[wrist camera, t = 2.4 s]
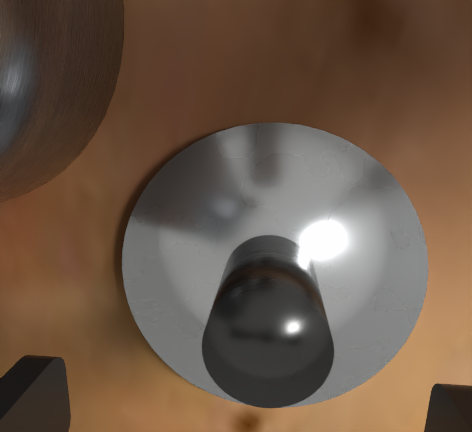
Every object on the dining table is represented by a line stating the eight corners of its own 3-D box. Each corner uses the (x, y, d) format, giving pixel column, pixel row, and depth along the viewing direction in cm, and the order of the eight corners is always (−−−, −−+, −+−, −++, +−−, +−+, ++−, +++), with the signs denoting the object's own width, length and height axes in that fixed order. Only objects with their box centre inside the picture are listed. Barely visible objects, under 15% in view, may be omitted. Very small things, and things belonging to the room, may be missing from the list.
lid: (442, 128, 14) (553, 136, 9) (397, 403, 18) (457, 546, 12) (125, 116, 15) (36, 116, 10) (134, 379, 18) (70, 499, 13)
